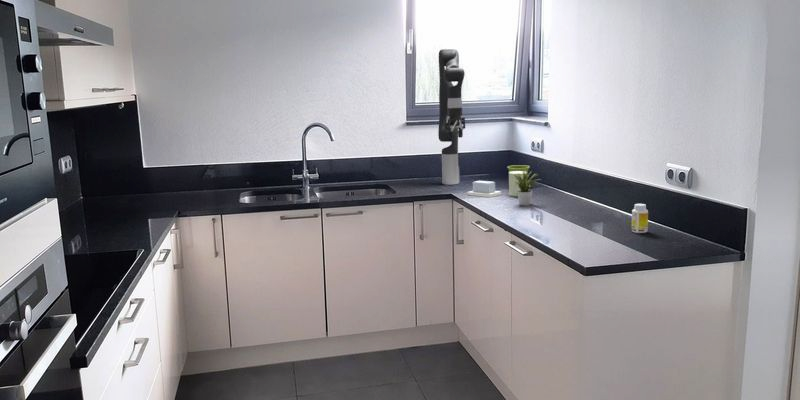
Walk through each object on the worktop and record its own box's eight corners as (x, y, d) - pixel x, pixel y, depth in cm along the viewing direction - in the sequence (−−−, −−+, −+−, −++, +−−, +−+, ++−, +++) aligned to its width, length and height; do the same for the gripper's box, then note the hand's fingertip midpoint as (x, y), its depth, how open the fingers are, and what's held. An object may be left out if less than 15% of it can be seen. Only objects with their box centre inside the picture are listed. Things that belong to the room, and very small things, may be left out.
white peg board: (478, 192, 330) (478, 183, 329) (501, 194, 321) (501, 185, 320) (467, 194, 323) (467, 186, 322) (490, 197, 314) (489, 188, 313)
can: (530, 195, 315) (530, 171, 313) (515, 197, 312) (514, 173, 310) (520, 192, 324) (520, 169, 321) (505, 194, 320) (505, 171, 318)
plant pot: (502, 187, 341) (502, 167, 339) (516, 184, 348) (516, 164, 346) (520, 189, 332) (520, 168, 330) (534, 186, 340) (534, 166, 338)
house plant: (523, 209, 282) (523, 172, 279) (501, 204, 294) (501, 170, 291) (545, 204, 290) (545, 169, 287) (524, 200, 301) (524, 166, 298)
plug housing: (479, 189, 327) (478, 180, 326) (495, 191, 320) (495, 181, 319) (472, 191, 323) (472, 182, 322) (489, 193, 316) (489, 183, 315)
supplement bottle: (650, 231, 233) (650, 204, 232) (643, 234, 229) (644, 206, 228) (635, 229, 237) (635, 202, 235) (628, 232, 233) (629, 205, 231)
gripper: (457, 106, 336) (458, 136, 339) (440, 107, 325) (441, 139, 328) (468, 106, 331) (469, 137, 334) (452, 107, 320) (453, 139, 323)
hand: (455, 138), depth 331 cm, fingers open, 8 cm apart
